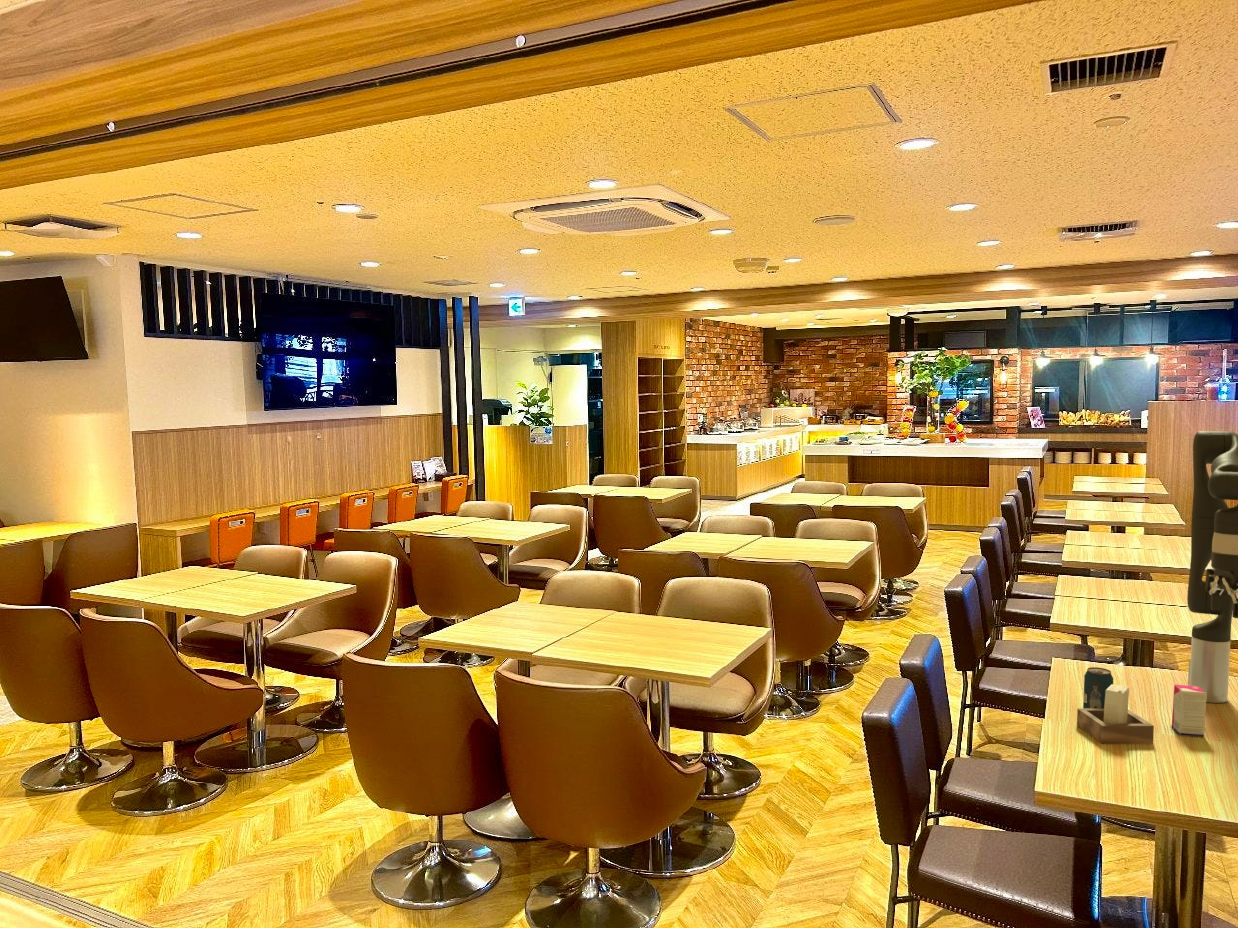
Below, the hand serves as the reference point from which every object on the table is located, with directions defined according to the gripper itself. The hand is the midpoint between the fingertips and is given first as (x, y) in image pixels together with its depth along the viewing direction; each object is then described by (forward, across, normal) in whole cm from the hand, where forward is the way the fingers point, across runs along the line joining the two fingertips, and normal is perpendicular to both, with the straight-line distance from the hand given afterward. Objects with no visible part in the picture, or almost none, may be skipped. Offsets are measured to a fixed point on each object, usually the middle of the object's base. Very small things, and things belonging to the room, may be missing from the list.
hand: (1226, 613), depth 236 cm
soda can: (+30, +12, +26) cm, 41 cm away
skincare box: (+30, -3, +29) cm, 42 cm away
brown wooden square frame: (+30, -3, +29) cm, 42 cm away
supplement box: (+30, -2, +10) cm, 32 cm away
